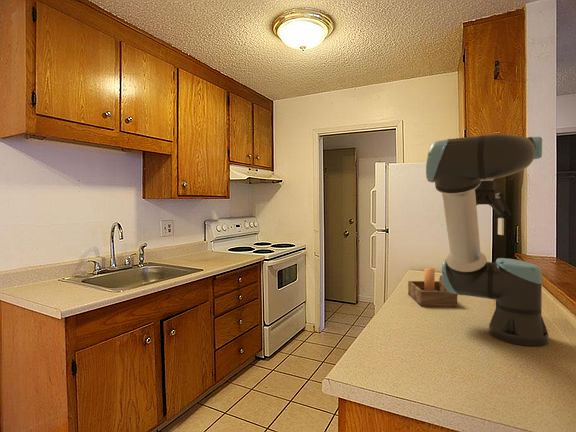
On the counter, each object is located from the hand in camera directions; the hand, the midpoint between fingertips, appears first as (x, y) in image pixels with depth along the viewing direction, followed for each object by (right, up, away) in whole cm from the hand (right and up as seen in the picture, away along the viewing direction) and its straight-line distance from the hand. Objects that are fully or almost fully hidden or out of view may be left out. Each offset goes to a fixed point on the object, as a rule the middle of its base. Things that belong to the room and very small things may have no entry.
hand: (482, 234), depth 132 cm
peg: (-16, -27, +12) cm, 34 cm away
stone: (+1, -28, +25) cm, 37 cm away
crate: (-16, -28, +10) cm, 34 cm away
